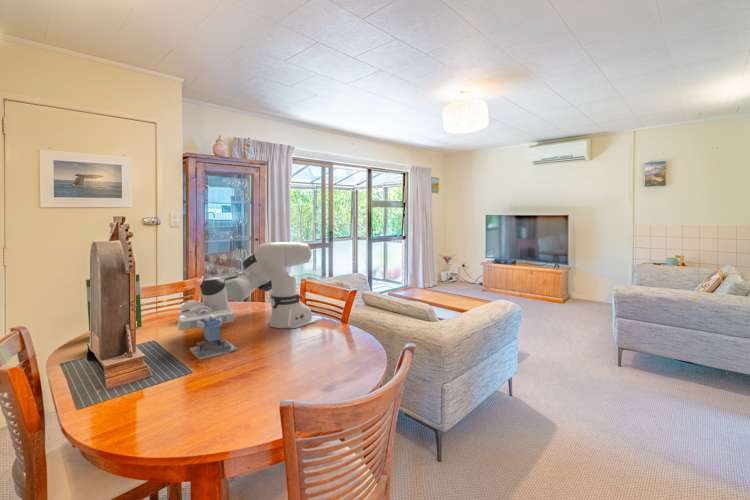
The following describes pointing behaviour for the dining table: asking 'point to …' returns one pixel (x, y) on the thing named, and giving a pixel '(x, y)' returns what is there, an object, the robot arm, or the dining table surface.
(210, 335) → the servo
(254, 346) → the dining table surface
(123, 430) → the dining table surface
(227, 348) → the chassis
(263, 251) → the robot arm
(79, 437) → the dining table surface
